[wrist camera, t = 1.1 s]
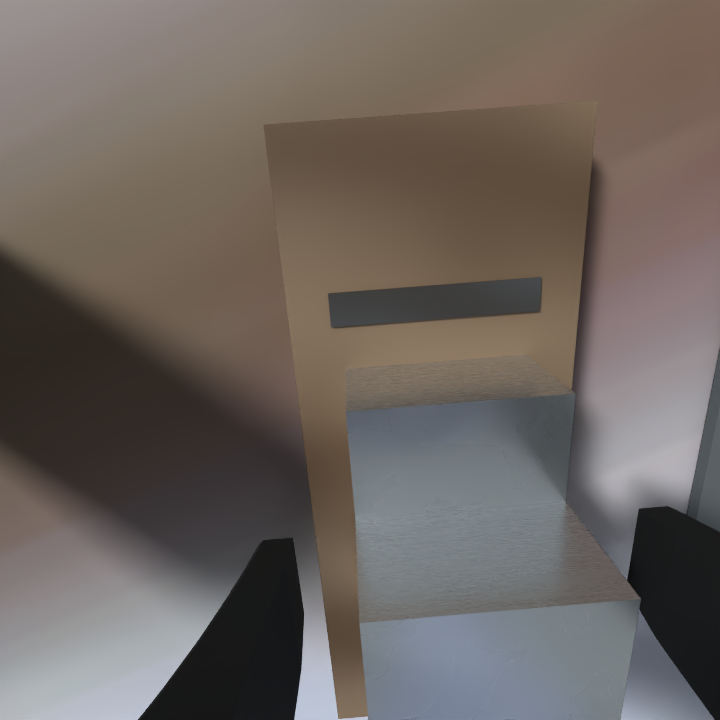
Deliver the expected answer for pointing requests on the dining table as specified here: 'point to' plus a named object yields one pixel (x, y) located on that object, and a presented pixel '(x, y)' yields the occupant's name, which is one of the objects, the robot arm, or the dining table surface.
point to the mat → (708, 465)
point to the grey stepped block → (479, 549)
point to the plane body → (419, 278)
